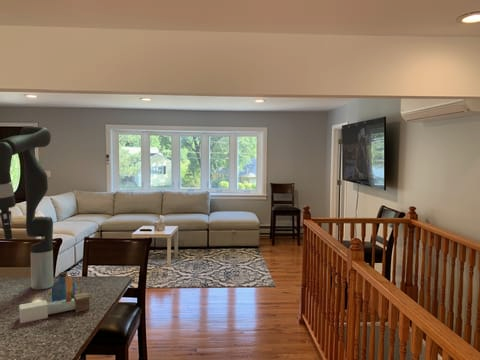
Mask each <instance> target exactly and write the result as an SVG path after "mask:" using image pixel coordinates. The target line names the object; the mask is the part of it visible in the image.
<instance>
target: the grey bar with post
mask: <svg viewBox="0 0 480 360" xmlns="http://www.w3.org/2000/svg"><path fill="white" fill-rule="evenodd" d="M65 277H66V299H65V300H60V301H55V302H52V301H50V302H47V308H48V315H53V314H57V313H63V312H67V311H73V310H75V309H76V300H75V298H73V296H72V282H73V275H72V274H67V275H66V276H65Z"/></svg>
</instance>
